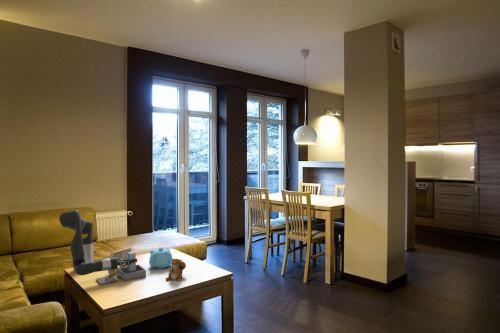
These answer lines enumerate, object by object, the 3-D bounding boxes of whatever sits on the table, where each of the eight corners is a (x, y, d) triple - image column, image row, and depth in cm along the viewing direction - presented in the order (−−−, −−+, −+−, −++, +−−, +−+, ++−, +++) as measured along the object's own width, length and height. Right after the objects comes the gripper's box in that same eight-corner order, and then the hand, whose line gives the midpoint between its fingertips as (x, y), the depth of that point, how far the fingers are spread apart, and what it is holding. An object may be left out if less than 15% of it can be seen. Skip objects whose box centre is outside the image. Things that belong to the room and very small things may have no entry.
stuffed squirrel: (164, 281, 221) (164, 260, 221) (174, 274, 235) (173, 254, 235) (179, 282, 219) (178, 261, 219) (188, 274, 233) (187, 255, 233)
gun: (111, 276, 232) (112, 253, 233) (106, 275, 233) (107, 253, 234) (131, 268, 256) (131, 247, 257) (126, 267, 257) (127, 247, 258)
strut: (128, 269, 233) (127, 252, 233) (134, 268, 235) (133, 251, 235) (129, 271, 229) (129, 253, 229) (135, 270, 232) (135, 252, 231)
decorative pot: (173, 262, 262) (172, 244, 261) (172, 269, 246) (172, 249, 245) (150, 264, 259) (150, 245, 258) (148, 270, 243) (148, 251, 243)
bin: (118, 275, 235) (118, 268, 234) (139, 271, 243) (139, 264, 242) (124, 281, 222) (124, 274, 222) (146, 276, 230) (146, 270, 230)
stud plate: (96, 280, 225) (96, 274, 225) (112, 276, 231) (112, 271, 231) (100, 285, 215) (100, 279, 215) (117, 281, 221) (117, 275, 221)
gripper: (111, 260, 218) (139, 256, 228) (106, 255, 230) (132, 251, 240) (111, 272, 218) (139, 267, 228) (106, 267, 230) (133, 262, 240)
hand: (135, 259), depth 234 cm, fingers closed on strut, 4 cm apart
